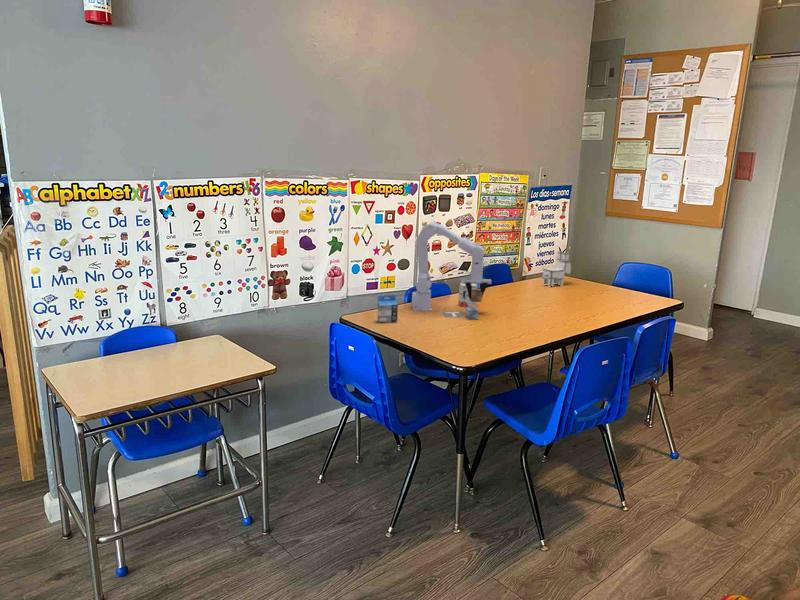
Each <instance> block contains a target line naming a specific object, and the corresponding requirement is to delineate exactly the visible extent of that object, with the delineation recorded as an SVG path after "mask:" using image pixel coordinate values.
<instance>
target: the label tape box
mask: <svg viewBox="0 0 800 600" xmlns="http://www.w3.org/2000/svg"><path fill="white" fill-rule="evenodd" d="M396 297H397V295H396V294H386V295H383V294H382V295H377V322H378V321H379V322H385V323H398V314H399V313H398V312H399V311H398V310H399V309H398V306H399V305H398V302H397V300H396V299H397V298H396ZM379 322H378V323H379Z"/></svg>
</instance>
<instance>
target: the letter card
mask: <svg viewBox="0 0 800 600" xmlns="http://www.w3.org/2000/svg"><path fill="white" fill-rule="evenodd" d="M441 313H442V314H443V316H444V317H445V318H466V317H465V316H466V315H465V314H464V313H463V311H441Z"/></svg>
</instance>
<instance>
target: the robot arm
mask: <svg viewBox="0 0 800 600" xmlns="http://www.w3.org/2000/svg"><path fill="white" fill-rule="evenodd" d="M435 235H436V236H440V237H441V236H443V237H445V238H447V239H449V240H451V241H453V242H454V243H456V244H457V247H458V248H459V249H461V250H462V251H464V252H466V253H467V254H469V255H471V267H470V278H466V279H465V278H462V279H461V282H460V283H462V284H465V285H466V287H467V290H468V295H469V298H471V290H472V286H471V284H477V285H480V289H479V290H481V291H482V298H483V295H484V293H485V291H486V289H487V287H488V285H491V284H492V279H490V278H487V279H486V278H483V275H484V273H483V272H484V254H485V249H484V247H483V246H482V245H480V244H478V243H477V242H476V243H475V242H474V241H472V240H470V237H460V236H459V235H458V234H456V233H454V231H451V230H450V229H448V228H447V227H446V226H444V224H443V225H442V224H441V223H439V222H437V221H431V222H429V223H427V224H426V225H424V226H423V227H422V228H421V230H420V231H419V234H418V236H417V237H416V244H417V247H416V249H417V269H418V274H417V275H418V276H417V283H416V284H415V288H416V291H412V293H411V294H412V295H411V309H412V311H414V312H418V311H419V312H420V311H421V312H422V311H423V312H424V311H425V312H427V311H431V312H432V311H433V309H432V307H431V299H432V289H430V288H432V286H433V282H432V280H431V278H430V277H431V276H430V273H429V254H428V251H429V250H428V241H430V239H431V238H432V237H434V236H435Z"/></svg>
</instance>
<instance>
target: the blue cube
mask: <svg viewBox="0 0 800 600" xmlns="http://www.w3.org/2000/svg"><path fill="white" fill-rule="evenodd" d="M464 316H465V317H464V318H466V320H467V321H473V320H474V321H475V320H477V321H478V319H479V309H478V308H477V306H476V307H465V315H464Z"/></svg>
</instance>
